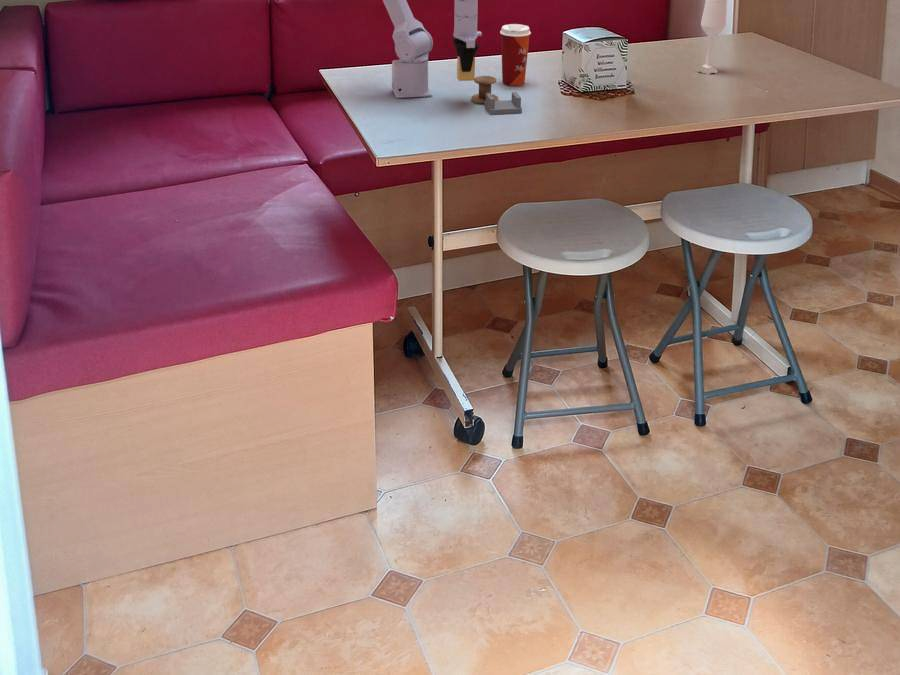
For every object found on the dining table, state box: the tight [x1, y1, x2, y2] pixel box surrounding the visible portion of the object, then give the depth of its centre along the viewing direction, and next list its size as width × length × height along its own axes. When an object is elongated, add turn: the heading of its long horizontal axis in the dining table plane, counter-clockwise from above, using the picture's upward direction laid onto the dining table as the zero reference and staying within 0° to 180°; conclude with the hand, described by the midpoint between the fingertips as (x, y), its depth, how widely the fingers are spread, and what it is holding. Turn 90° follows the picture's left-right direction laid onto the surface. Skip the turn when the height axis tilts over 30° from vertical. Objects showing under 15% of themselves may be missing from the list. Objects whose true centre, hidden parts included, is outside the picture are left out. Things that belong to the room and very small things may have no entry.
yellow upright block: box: [456, 55, 476, 82], centre depth 263 cm, size 4×3×6 cm
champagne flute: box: [700, 0, 728, 68], centre depth 288 cm, size 7×7×24 cm
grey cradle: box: [484, 91, 523, 116], centre depth 261 cm, size 8×7×4 cm
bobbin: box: [470, 75, 499, 106], centre depth 267 cm, size 7×7×6 cm
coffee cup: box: [499, 23, 532, 87], centre depth 278 cm, size 8×8×15 cm
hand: (465, 69), depth 263 cm, fingers closed on yellow upright block, 3 cm apart
